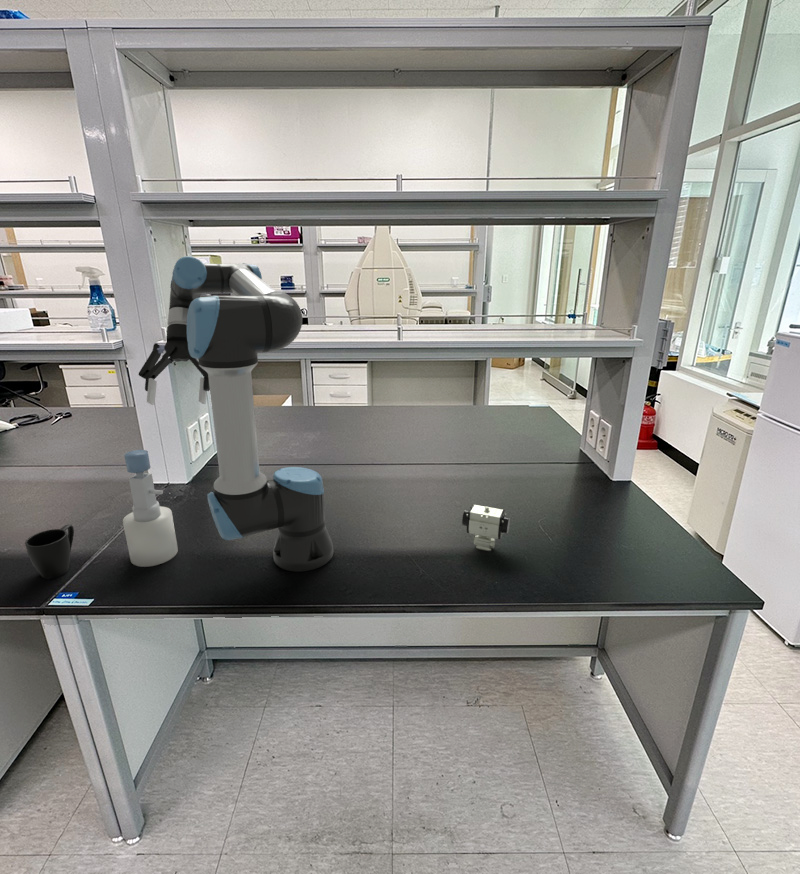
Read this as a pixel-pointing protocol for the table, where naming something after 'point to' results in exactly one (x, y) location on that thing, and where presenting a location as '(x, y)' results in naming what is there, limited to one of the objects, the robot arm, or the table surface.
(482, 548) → the pneumatic valve
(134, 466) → the plunger
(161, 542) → the bottle
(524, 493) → the table surface
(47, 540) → the mug
